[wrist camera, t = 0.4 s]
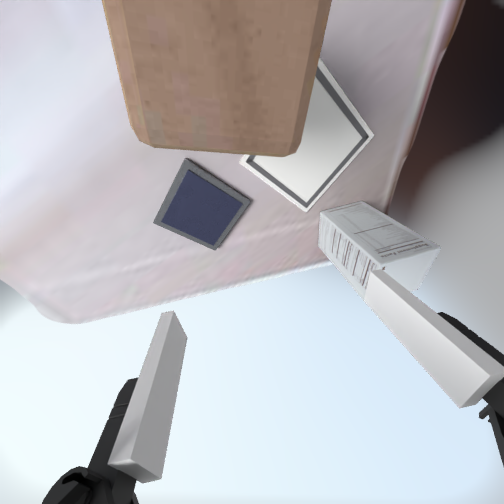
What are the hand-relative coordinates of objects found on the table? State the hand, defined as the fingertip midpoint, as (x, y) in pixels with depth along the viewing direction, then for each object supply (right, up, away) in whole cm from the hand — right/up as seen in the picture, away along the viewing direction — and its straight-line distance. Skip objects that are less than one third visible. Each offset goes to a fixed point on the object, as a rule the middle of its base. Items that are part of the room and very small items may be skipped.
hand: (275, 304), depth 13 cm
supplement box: (+17, +10, +29) cm, 35 cm away
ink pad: (-10, +11, +21) cm, 26 cm away
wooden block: (-6, +25, +11) cm, 28 cm away
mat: (+7, +20, +18) cm, 28 cm away
